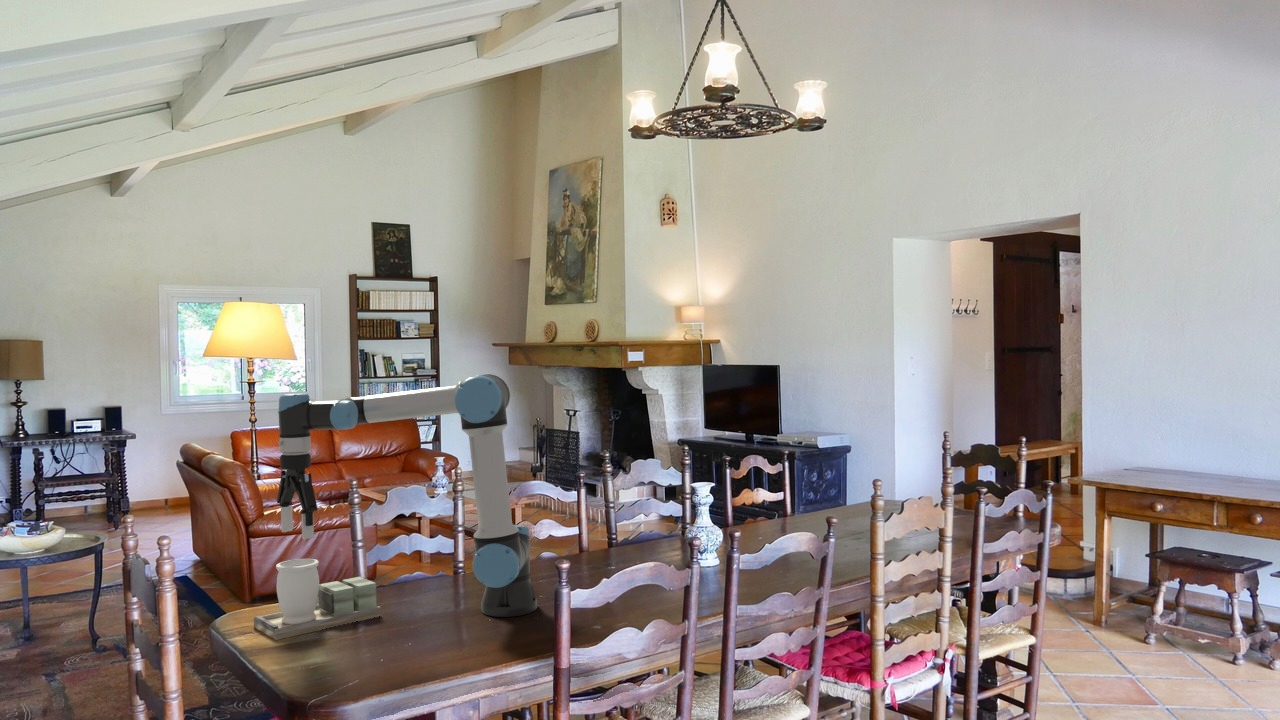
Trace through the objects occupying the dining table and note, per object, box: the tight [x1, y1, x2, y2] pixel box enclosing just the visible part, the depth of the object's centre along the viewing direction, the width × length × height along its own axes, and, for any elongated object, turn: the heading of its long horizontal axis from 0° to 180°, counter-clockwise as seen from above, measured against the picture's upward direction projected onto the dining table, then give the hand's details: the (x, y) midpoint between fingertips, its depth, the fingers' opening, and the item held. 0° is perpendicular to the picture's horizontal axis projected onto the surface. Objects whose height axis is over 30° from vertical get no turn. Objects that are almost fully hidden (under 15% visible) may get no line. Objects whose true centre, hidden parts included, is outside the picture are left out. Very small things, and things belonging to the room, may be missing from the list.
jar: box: [275, 558, 320, 624], centre depth 237 cm, size 11×10×15 cm
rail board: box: [253, 576, 382, 641], centre depth 241 cm, size 15×28×8 cm, turn 133°
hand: (297, 534), depth 237 cm, fingers open, 13 cm apart
